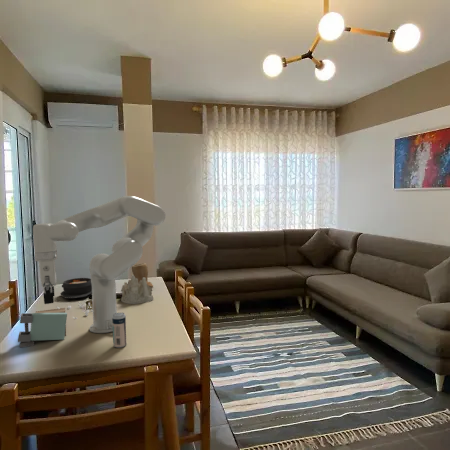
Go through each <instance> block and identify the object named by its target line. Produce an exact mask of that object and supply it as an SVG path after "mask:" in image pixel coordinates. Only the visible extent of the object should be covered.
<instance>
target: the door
mask: <svg viewBox="0 0 450 450" xmlns="http://www.w3.org/2000/svg"><path fill="white" fill-rule="evenodd" d="M24 315H28V316H24ZM67 317H68V312H65V313H35V312H30V313H25V312H22V313H21V314H20V317H19V318H20V320H19V324H25V323H28V324H30V331H29V335H25V331H18V332H19V333H18V335H17V336H18V337H17V343H20V342H30V341H33V340H35V341H58V340H59V341H60V340H61V341H62V340H65V338H66V336H65V328H66V329H67Z"/></svg>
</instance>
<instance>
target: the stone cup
mask: <svg viewBox="0 0 450 450" xmlns="http://www.w3.org/2000/svg"><path fill="white" fill-rule="evenodd" d="M131 273H132V275H134V277H135V278H136V279H138V284H139V282H140V280H142V278H146V282H147V285H148V286H149V287H150V288H151V289H153V288H154V285H153V283H152V282H151V281H149V279H148V278H149V277H148V275H149V268H148V264H147V263H146V262H143V263H138V264H137V263H136V264H134V265H133V266H132V267H131Z"/></svg>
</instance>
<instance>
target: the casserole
mask: <svg viewBox="0 0 450 450" xmlns="http://www.w3.org/2000/svg"><path fill="white" fill-rule="evenodd" d="M61 288H62V289H63V291H61V292H60V296H62V298H65V299H80V298H85V297H87V296H89V295H92V283H91V277H90V278H88V277H77V278H71V279H67V280H64V281H63V282H62V285H61Z"/></svg>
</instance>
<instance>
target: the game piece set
mask: <svg viewBox="0 0 450 450" xmlns="http://www.w3.org/2000/svg"><path fill="white" fill-rule="evenodd" d="M87 304H88V306H87V308H89V306H90V308H92V306H91V303H90V302H88V303H87ZM60 308H61V307H59V306H56V309H60ZM78 308H81V309H82V308H84V303H82V304H81V303H80V302H79V301H78ZM66 309H68V310H71V309H72V305H70V304H69V305H67V308H66ZM89 313H93V308H92V309H86V310H85V311H84V315H85V316H86V317H88V315H89ZM72 318H73V319H74V320H76V319H78V317H74V316H72Z"/></svg>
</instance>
